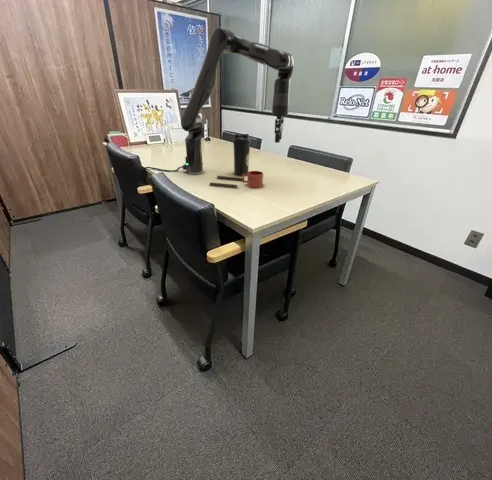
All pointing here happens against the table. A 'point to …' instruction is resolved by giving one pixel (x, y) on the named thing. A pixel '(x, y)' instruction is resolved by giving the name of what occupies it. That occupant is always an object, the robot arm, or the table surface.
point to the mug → (254, 179)
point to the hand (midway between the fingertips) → (278, 140)
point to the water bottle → (241, 154)
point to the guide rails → (226, 184)
